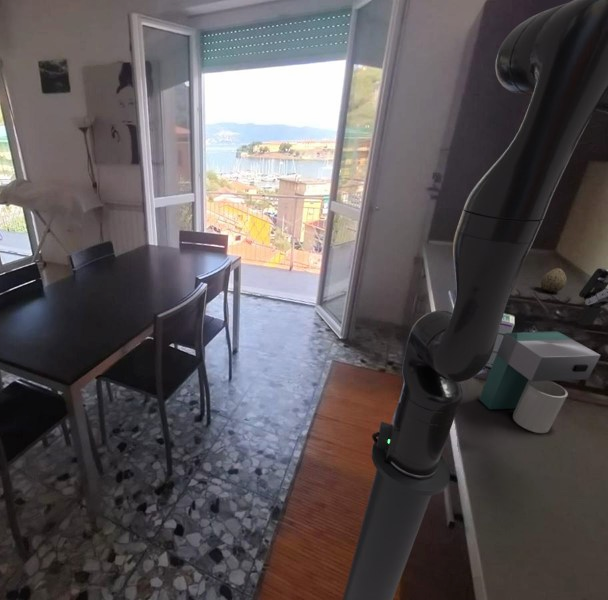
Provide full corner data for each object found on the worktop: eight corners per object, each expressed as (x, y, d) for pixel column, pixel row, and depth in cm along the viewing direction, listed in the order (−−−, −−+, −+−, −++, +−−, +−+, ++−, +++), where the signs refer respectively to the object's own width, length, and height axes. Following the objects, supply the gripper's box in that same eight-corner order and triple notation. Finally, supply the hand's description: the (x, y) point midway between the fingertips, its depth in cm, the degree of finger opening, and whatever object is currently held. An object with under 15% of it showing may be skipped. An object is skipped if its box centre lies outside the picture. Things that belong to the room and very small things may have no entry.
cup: (515, 427, 79) (532, 391, 75) (509, 409, 84) (525, 374, 80) (552, 437, 76) (572, 401, 72) (544, 417, 81) (562, 383, 77)
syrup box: (498, 369, 98) (516, 324, 92) (472, 362, 101) (488, 317, 95) (498, 360, 102) (516, 315, 96) (473, 353, 105) (489, 309, 99)
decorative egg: (566, 294, 140) (576, 270, 136) (551, 296, 139) (562, 272, 134) (546, 287, 146) (556, 264, 142) (532, 289, 145) (542, 266, 141)
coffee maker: (478, 399, 87) (504, 333, 79) (526, 397, 88) (557, 331, 80) (510, 429, 79) (543, 358, 70) (563, 427, 79) (602, 356, 71)
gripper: (601, 234, 61) (551, 314, 69) (693, 266, 49) (619, 359, 57) (646, 238, 61) (590, 318, 69) (750, 271, 49) (668, 364, 56)
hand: (604, 337), depth 63 cm, fingers open, 8 cm apart
